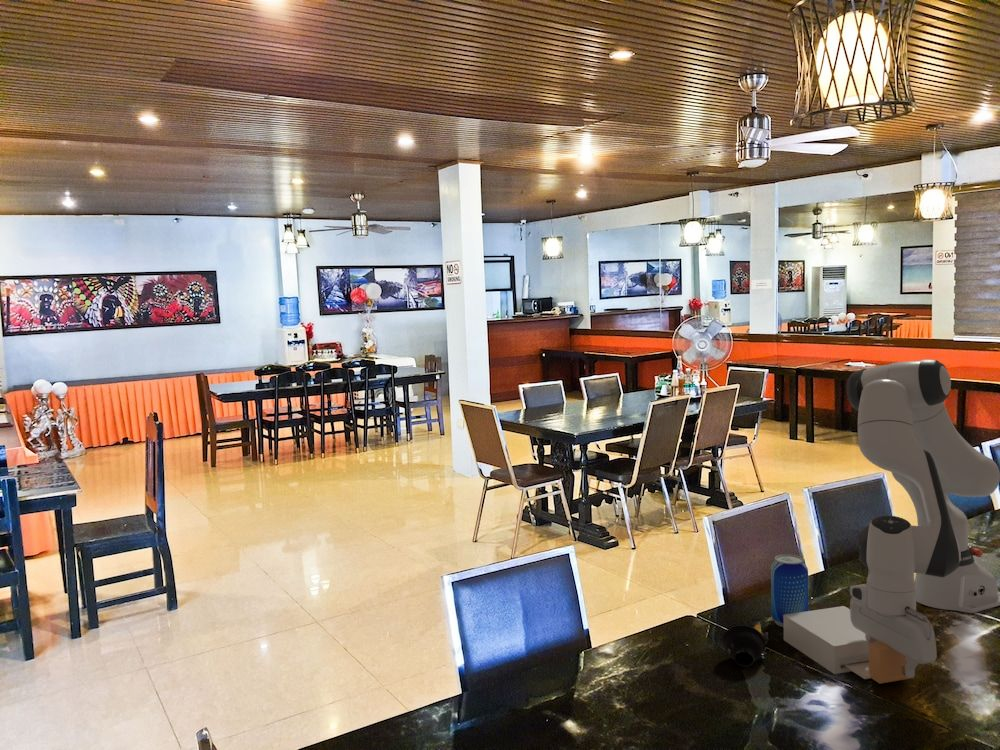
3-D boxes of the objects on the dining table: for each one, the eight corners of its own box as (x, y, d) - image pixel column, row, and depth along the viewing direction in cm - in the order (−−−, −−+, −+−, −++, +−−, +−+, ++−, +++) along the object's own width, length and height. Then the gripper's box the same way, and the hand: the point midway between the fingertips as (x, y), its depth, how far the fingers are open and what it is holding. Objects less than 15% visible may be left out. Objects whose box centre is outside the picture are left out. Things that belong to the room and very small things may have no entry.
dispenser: (844, 630, 182) (843, 605, 182) (903, 665, 164) (903, 637, 164) (783, 640, 179) (783, 614, 178) (837, 676, 160) (837, 648, 160)
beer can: (803, 616, 192) (802, 553, 191) (813, 630, 184) (812, 564, 182) (768, 616, 193) (766, 553, 192) (776, 630, 184) (775, 564, 183)
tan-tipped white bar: (846, 633, 178) (845, 603, 177) (920, 676, 156) (920, 642, 156) (803, 640, 175) (803, 609, 175) (873, 684, 154) (873, 650, 153)
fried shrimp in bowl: (715, 649, 165) (715, 594, 181) (737, 687, 168) (735, 630, 184) (757, 638, 161) (753, 583, 177) (779, 678, 164) (773, 620, 180)
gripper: (945, 616, 146) (945, 687, 147) (869, 581, 166) (870, 644, 167) (916, 620, 144) (917, 692, 145) (844, 584, 164) (844, 648, 165)
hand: (891, 666), depth 156 cm, fingers open, 8 cm apart
